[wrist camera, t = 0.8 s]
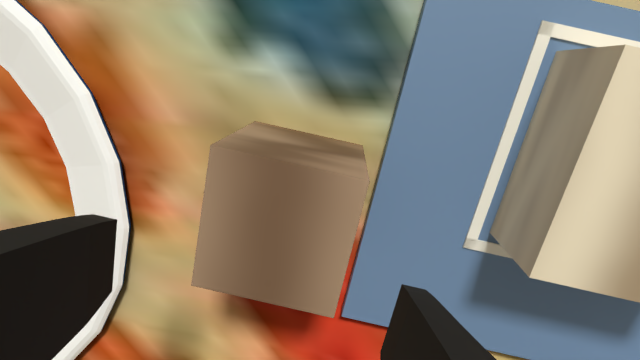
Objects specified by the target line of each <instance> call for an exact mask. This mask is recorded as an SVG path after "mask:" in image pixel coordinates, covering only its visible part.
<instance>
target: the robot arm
mask: <svg viewBox="0 0 640 360" xmlns="http://www.w3.org/2000/svg"><path fill="white" fill-rule="evenodd" d="M116 230H117V219H112V218H108V217H103V216H99V215H95V214H90V215H80V216H73V217H67V218H61V219H56V220H51V221H46V222H41V223H36V224H31V225H26V226H21V227H16V228H11V229H6V230H1V231H0V360H52V359H53V358H54V357H55V356H56V355H57V354H58V353H59V352H60V351H61V350H62V349H63V348H64V347H65V346H66V345H67V344H68V343H69V342H70V341H71V340H72V339H73V338H74V337H75V336H76V335H77V334H78V333H79V332H80V331H81V330H82V329H83V328H84V327H85V326H86V324H87V323H88V322H89V321H90V319H91V318H92V317H93V316H94V314H95V313H96V312H97V311H98V309H99V308H100V307H101V305H102V304H103V303H104V301H105V300H106V299H107V297H108V296H109V295H110V293H111V292H112V286H113V272H114V258H115V244H116ZM381 360H496V359H495V358H494V357H493V356H492V355H491V354H490V353H489V352H488V351H487V350H486V349H485V348H484V347H483V346H482V345H481V344H480V343H479V342H478V341H477V340H476V339H475V338H474V337H473V336H472V335H471V334H470V333H469V332H468V331H467V330H466V329H465V328H464V327H463V326H462V325H461V324H460V323H459V322H458V321H457V320H456V319H455V318H454V317H453V316H452V314H451V313H450V312H449V311H448V310H447V309H446V308H445V307H444V306H443V305H442V304H441V303H440V302H439V301H438V300H437V299H436V298H435V297H434V296H433V295H432V294H431V293H429V292H428V291H427V290H425V289H421V288H417V287H412V286H408V285H403V284H402V285H401V288H400V291H399V294H398V298H397V301H396V304H395V307H394V311H393V314H392V317H391V320H390V323H389V327H388V330H387V333H386V336H385V339H384V343H383V346H382V349H381Z"/></svg>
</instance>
